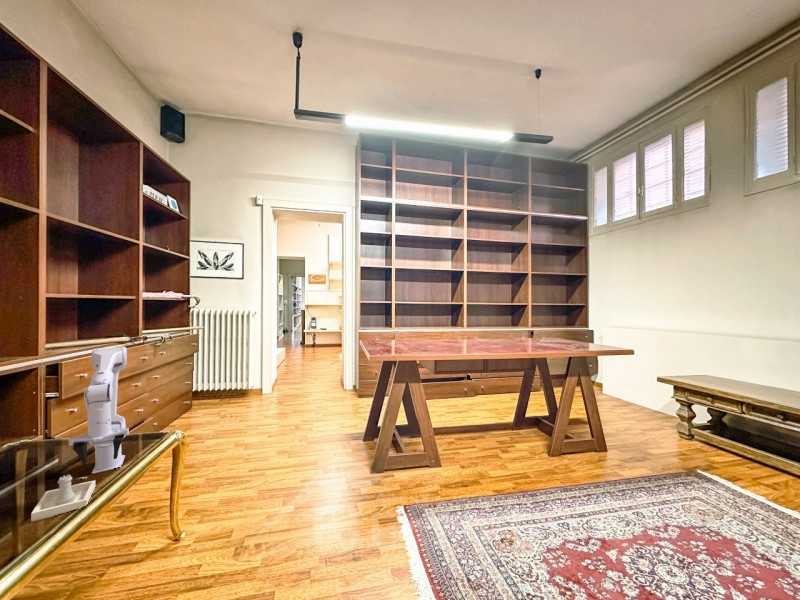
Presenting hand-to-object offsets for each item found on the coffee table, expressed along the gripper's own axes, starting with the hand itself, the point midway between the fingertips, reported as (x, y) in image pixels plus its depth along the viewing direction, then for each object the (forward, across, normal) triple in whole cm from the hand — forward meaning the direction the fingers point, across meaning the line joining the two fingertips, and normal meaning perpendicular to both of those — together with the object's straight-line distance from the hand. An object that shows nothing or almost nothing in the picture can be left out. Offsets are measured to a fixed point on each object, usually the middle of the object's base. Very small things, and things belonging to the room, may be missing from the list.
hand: (100, 460), depth 109 cm
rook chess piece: (+9, -7, -5) cm, 13 cm away
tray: (+9, -7, -5) cm, 13 cm away
